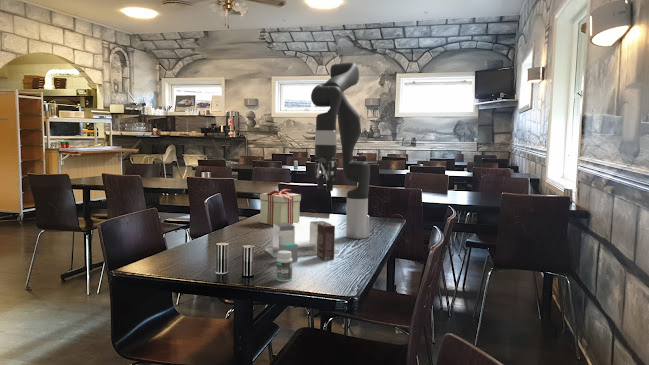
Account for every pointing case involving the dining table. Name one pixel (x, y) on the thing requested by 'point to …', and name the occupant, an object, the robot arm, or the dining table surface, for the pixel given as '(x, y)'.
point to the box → (325, 241)
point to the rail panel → (287, 234)
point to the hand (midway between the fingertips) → (324, 189)
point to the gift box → (280, 207)
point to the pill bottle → (284, 266)
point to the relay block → (289, 249)
